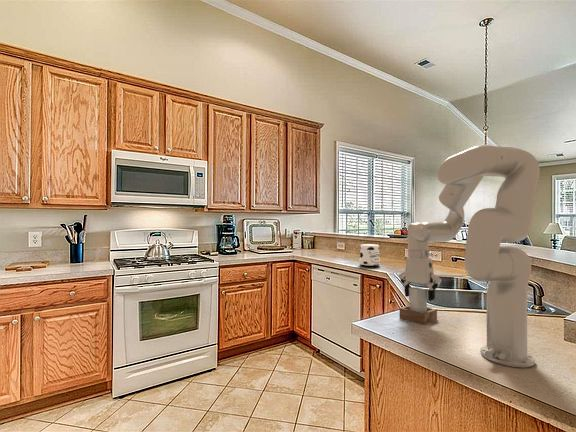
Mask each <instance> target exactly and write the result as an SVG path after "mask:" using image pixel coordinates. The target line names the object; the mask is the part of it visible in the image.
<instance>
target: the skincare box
mask: <svg viewBox="0 0 576 432" xmlns="http://www.w3.org/2000/svg"><path fill="white" fill-rule="evenodd" d="M427 295H428V293H427V289H424V288H422V287H418V286H412V287H409V296H408V303H409V304H408V306H409V308H410V310H412V311H416V312H420V313H424V312H427V307H428V298H427V297H428V296H427Z"/></svg>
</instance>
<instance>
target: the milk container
mask: <svg viewBox="0 0 576 432" xmlns="http://www.w3.org/2000/svg"><path fill="white" fill-rule="evenodd" d="M379 245H380V244H373V243H372V244H371V243H366V244H364V243H363V244H360V247H359V249H360V250H359V253H360V254H359V259H358V263H359V265H360V266H362V265H364V266H363V267H366V266H376V267H379V266H380V265H381V257H380V246H379Z"/></svg>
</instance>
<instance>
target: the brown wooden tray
mask: <svg viewBox="0 0 576 432" xmlns="http://www.w3.org/2000/svg"><path fill="white" fill-rule="evenodd" d="M399 319H401V320H405V321H408V322H412V323H416V324H418V325H422V326H424V325H427V324H429V323H430V324H431V323H433V322H435V321H437V320H438V309H437V308H436V309H435V308H431V307H428V306H427V312H424V313H420V312H416V311H412V310H410V308H409V305H405V306H403V307H400V308H399Z"/></svg>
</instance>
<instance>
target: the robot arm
mask: <svg viewBox="0 0 576 432" xmlns="http://www.w3.org/2000/svg"><path fill="white" fill-rule="evenodd" d="M436 175H437V180H438V181H439V182H440V183H441V184H443V185H444V187H443V188H442V190H441V191H440V193H439V194H438V200H439V202H440V203H441V204H442V206H443V207H445V208H446V209H449V212H448V214H447V216H446V218H445V219H444V220H443V221H424V222H414V223H413V222H412V223H409V224H408V225H407V256H406V261H405V266H404V268H405V269H404V271H403V272H401V273H399V274H398V278H399V281H400V283H401V284H402V286H403V287H404V296H405V298H406V297H409V287H411V284H419V285H426V287H427V288H428V291H427V292H428V293H427V295H428V296H427V297H428V298H427V301H430V302H431V301H435V297H436V291H435V290H437V288H438V287H440V284H441V283H442V278H441V277H439V276H437V275H435V271H434V265H433V261H432V258H431V257H430V256H432V255H433V254H432V252H431V251H430V250H429V249H430V247H429V243H447V242H449V241H451V240H453V239H454V238H455V237H456V236H457V235H458V233H459V232H460V230H461V229H462V227H463V226H464V222H465V209H464V207H465V206H466V204H467V202H468V201H469V200H470V197H471V196H472V194H473V193H474V192H475V190H476V188H477V187H478V186H479V184H480V183H481V181H482V179H483V177H501V178H505V179H504V180H503V182H502V183H501V184H500V187H499V188H498V191H497V193H496V202H495V206H494V207H486V208H481V209H479V210H478V211H476V212H475V213H473V215H472V217H471V218H470V220H469V222H468V226H467V231H466V233H467V235H466V236H467V237H466V243H465V251H464V269H465V271H466V273H467V274H468V276H469V277H470V278H472V280H475V281H477V282H489V283H488V286H487V289H486V296H485V297H486V345H483V346H482V347H480V351H479V352H480V354H481V355H482V357H484V358H485V359H486V360H489V361H491V362H494V363H495V364H499V365H501V366H507V367H512V368H530V367H533V366H535V363H536V362H535V358H534V357H533V355H531V354H530V353H528V287H529V283H530V282H529V281H530V277H531V272H532V262H531V258H530V256H529V255H528V254H527V253H526V252H525V250H523V249H521V248H519V247H516V246H511V245H501V244H502V243H515V242H516V243H517V242H522V241H523V240H525V239H527V237H528V236H529V234H530V231H531V226H532V219H533V211H534V205H535V196H536V190H537V187H538V182H539V178H540V164H539V161H538V160H537V158H536V156H535V155H534V154H532V153H530V152H528V151H526V150H525V149H521V148H517V147H510V146H498V145H497V146H495V145H485V144H484V145H476V146H473V147H470V148H468V149H466V150H464V151H463V150H462V151H461V152H459V153H457V154H454V155H452V156H450V157H448V158H446V159H445V160H443V161H442V162H441V164H439V166H438V169H437V172H436Z"/></svg>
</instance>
